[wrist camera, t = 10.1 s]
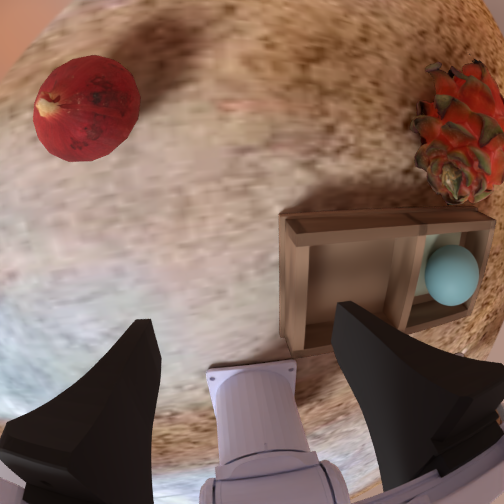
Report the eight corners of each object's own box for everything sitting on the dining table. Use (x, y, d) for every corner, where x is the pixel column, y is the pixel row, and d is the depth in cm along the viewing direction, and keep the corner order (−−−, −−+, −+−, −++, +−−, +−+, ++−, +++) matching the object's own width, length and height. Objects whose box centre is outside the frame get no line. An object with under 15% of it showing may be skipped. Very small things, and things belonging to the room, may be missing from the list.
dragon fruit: (392, 192, 22) (421, 73, 19) (480, 231, 19) (502, 108, 16) (398, 170, 14) (428, 16, 12) (523, 229, 11) (536, 65, 9)
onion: (157, 67, 15) (119, 28, 8) (148, 154, 17) (104, 173, 10) (75, 73, 14) (5, 53, 7) (68, 156, 16) (-4, 178, 9)
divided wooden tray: (453, 298, 26) (472, 316, 22) (279, 333, 24) (288, 361, 21) (473, 206, 22) (498, 217, 18) (278, 214, 20) (291, 231, 17)
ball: (445, 282, 24) (480, 308, 19) (408, 293, 23) (444, 324, 18) (455, 233, 22) (495, 254, 17) (417, 239, 21) (460, 264, 16)
